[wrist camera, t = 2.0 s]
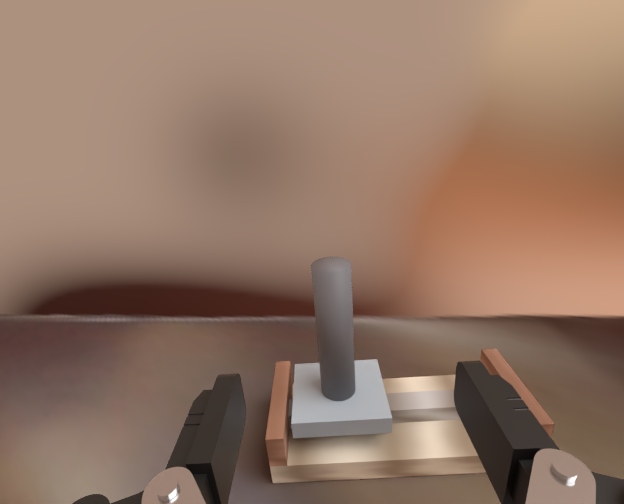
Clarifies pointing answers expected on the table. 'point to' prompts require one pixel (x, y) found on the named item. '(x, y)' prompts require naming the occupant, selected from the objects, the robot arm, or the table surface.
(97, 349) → the table surface
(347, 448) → the rail bed
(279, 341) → the table surface
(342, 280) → the carriage
